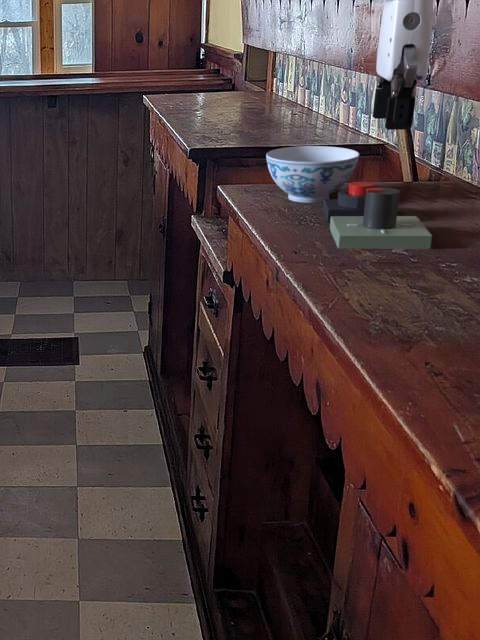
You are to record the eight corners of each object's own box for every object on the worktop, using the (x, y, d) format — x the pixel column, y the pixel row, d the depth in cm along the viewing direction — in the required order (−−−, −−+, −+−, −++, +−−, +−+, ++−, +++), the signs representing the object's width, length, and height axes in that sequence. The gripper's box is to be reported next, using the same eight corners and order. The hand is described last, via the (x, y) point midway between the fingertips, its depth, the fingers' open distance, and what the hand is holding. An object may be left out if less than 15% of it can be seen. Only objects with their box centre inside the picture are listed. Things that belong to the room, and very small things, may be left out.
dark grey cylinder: (392, 221, 126) (397, 185, 124) (398, 229, 122) (402, 191, 120) (360, 221, 127) (364, 185, 125) (365, 229, 123) (369, 192, 121)
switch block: (388, 212, 139) (391, 187, 137) (396, 223, 133) (399, 197, 131) (322, 212, 141) (324, 188, 140) (327, 223, 135) (329, 197, 133)
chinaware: (312, 213, 141) (316, 165, 138) (245, 198, 153) (247, 154, 150) (373, 198, 148) (379, 152, 145) (304, 185, 160) (308, 143, 157)
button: (371, 192, 137) (372, 181, 136) (374, 197, 133) (375, 186, 133) (346, 192, 137) (347, 181, 137) (349, 197, 134) (350, 186, 134)
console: (414, 229, 129) (416, 215, 128) (430, 249, 119) (432, 234, 118) (329, 229, 132) (330, 215, 131) (338, 249, 122) (339, 234, 121)
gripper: (457, -14, 102) (435, 133, 109) (425, -16, 118) (407, 114, 124) (389, -11, 104) (371, 134, 111) (367, -13, 119) (352, 114, 126)
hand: (390, 123), depth 118 cm, fingers open, 9 cm apart
